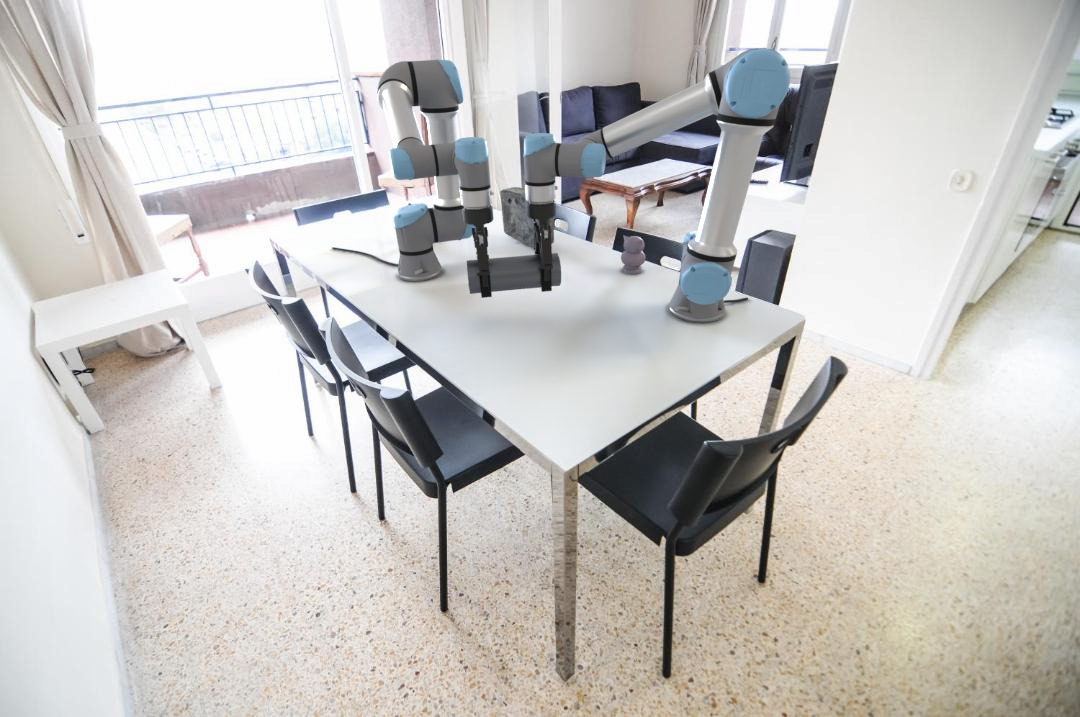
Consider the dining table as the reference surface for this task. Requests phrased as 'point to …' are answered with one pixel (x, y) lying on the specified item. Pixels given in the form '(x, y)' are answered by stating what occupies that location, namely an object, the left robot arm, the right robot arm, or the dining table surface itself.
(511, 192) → the concrete block
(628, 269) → the cat figurine
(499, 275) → the rod
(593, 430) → the dining table surface
